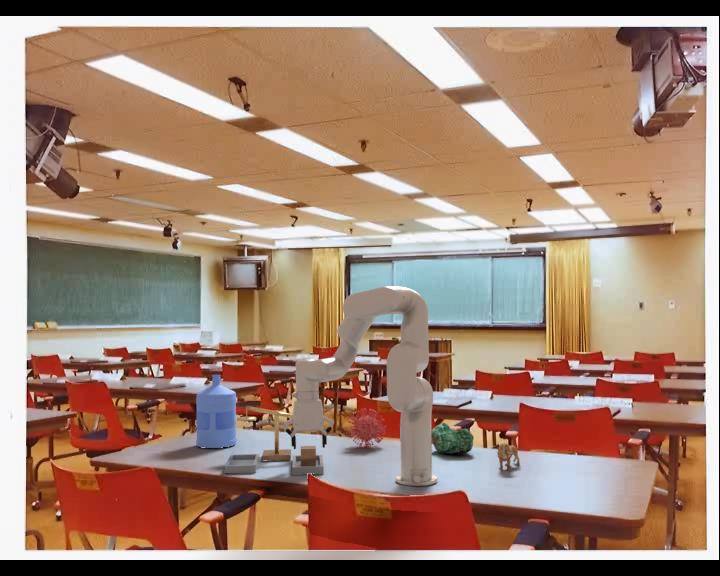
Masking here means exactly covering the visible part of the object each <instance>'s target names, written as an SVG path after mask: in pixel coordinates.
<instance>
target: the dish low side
mask: <svg viewBox="0 0 720 576" xmlns="http://www.w3.org/2000/svg"><path fill="white" fill-rule="evenodd" d="M323 459H324V458H323V454H316V466H301V455H293V456H292V465H291V466H292V471H291V473H292V476H304V475H303V474H306V475H305V476H308V475H307V473H312V474H313V473H314V474H319V475H324V473H325V472H324V460H323Z"/></svg>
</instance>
